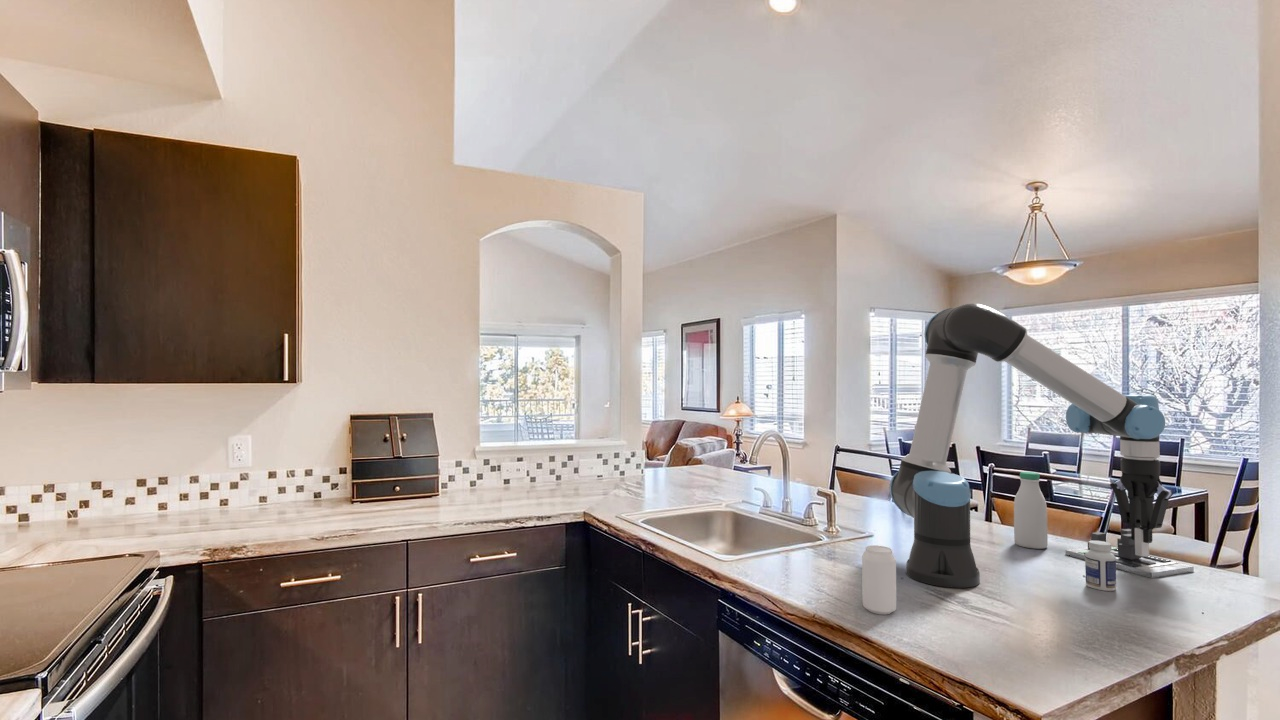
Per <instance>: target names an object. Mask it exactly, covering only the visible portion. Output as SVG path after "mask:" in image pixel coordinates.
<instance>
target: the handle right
mask: <svg viewBox="0 0 1280 720" xmlns="http://www.w3.org/2000/svg"><path fill="white" fill-rule="evenodd" d="M1125 534H1131V528H1121V529H1120V537H1119V538H1116V540H1117V544H1116V545H1118V544H1122V535H1125Z"/></svg>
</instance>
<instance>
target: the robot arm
mask: <svg viewBox="0 0 1280 720" xmlns="http://www.w3.org/2000/svg"><path fill="white" fill-rule="evenodd" d="M925 325H926V326H925V328H924V340H925V342H926V344H927V345H926V351H925V356H924V357H925V358H926V359H927V360H928V362H929V367H928V371H927V375H926V380H925V384H924V388H923V393H922V397H921V400H920V406H919V411H918V414H917V415H918V416H917V420H916V423H915V428H914V433H913V438H912V441H911V445H910V450H909V453H908V454H907V455H905V456H904V457H902V458H901V459H900V464H899V469H898V471H896V472H895V473H894V474H893V476H892V477H891V480H890V482H889V495H890V498H891V500H892V502H893V503H894V504H895V506H896V507H897V508H898V509H899V510H900V511H901V512H902V513H904V514H905V515H906V516H909V517H911V518H913V543H912V547H911V549H910V553H909V558H908V559H907V561H906V565H905V567H906V569H905V570H906V571H905V572H906V575H907V576H908V577H910V578H911V579H912V580H915V581H918V582H920V583H924V584H928V585H932V586H937V587H943V588H953V589H954V588H955V589H957V588H958V589H960V588H961V589H962V588H963V589H965V588H973V587H977V586H978V585H979V584H981V583H980V582H981V576H980V575H981V573H980V571H979V568H978V567H977V564H976V560H975V557H974V553H973V550H972V546H971V498H972V496H971V491H970V484H969V482H968V480H967V479H966V478H965V477H963V476H961V475H958V474H957V473H956V474H955V473H952V471H951V469H950V468H949V466H948V464H947V460H948V456H949V451H950V446H951V442H952V438H953V434H954V429H955V426H956V425H955V424H956V420H957V415H958V412H959V407H960V403H961V397H962V395H963V390H964V385H965V381H966V376H967V372H968V370H970V369H971V368H972V367H974V366H976V363H977V359H978V355H979V354H981V355H984V356H986V357H987V358H990V359H992V360H993V361H995V362H996V363H1002V362H1003V363H1004V362H1005V363H1006V364H1008V365H1010V366H1011V367H1013V368H1015V369H1016V370H1018V371H1020V372H1021V373H1023V374H1024V375H1025V376H1028V377H1029V378H1031V379H1032V380H1034V381H1035V382H1037V383H1038V384H1040V385H1042V386H1043V387H1045V388H1047V389H1048V390H1050V391H1051V392H1053V393H1055V394H1056V395H1058V396H1059V397H1061V398H1063V399H1064V400H1066V401H1067V402H1069V403H1070V405H1069V406H1068V407H1067V409H1066V411H1065V423H1066V425H1067V427H1068V428H1069V430H1071V431H1072V432H1073V433H1076V434H1078V433H1079V434H1086V435H1087V434H1098V435H1099V434H1100V435H1106V436H1115V437H1119V439H1120V440H1119V446H1120V447H1119V448H1120V449H1119V453H1120V455H1121V456H1122V457H1121V458H1120V472H1121V476H1120V478H1119V480H1118V481H1116V482H1111V483H1110V484H1109V485H1110V488H1111V489H1112V490H1113V493H1114V495H1115V499H1116V503H1117V506H1118V511H1119V514H1120V518H1121V521H1122V523H1124V524H1127V525H1129V526H1130V529H1131V538H1132V540H1135V555H1138V556H1149V555H1150V544H1151V543H1153V530H1154V529H1162V526H1163V523H1164V521H1165V520H1164V519H1165V515H1166V512H1167V509H1168V503H1169V500H1170V499H1171V498H1172V497H1173V495H1174V490H1171V489H1168V488H1166V487H1165V486H1163V483H1162V481H1161V480H1160V479H1161V478H1160V476H1161V461H1160V460H1159V458H1160V457H1161V454H1160V451H1161V450H1160V448H1161V447H1160V446H1161V445H1160V444H1161V443H1160V435H1161V434H1162V433H1163V432H1164V430H1165V428H1166V419H1165V415H1164V413H1163V412H1162V411H1161V410H1160V407H1159V406H1160V405H1159V400H1158V398H1157V397H1156V396H1155V395H1150V394H1149V395H1147V394H1122V393H1121V392H1119V391H1117V390H1115V389H1114V388H1113V387H1111V386H1109V385H1108V384H1107V383H1105V382H1103V381H1101V380H1100V379H1099V378H1097V377H1095V376H1094V375H1092V374H1091V373H1089V372H1087V371H1086V370H1084V369H1082V368H1081V367H1079V366H1078V365H1076V364H1075V363H1073V362H1071V361H1070V360H1068V359H1066V357H1063V356H1062V355H1060V354H1059V353H1057V352H1056V351H1054V350H1052V349H1051V348H1049V347H1047V345H1044V344H1043V343H1041V341H1038V340H1036V339H1035V338H1033V337H1031V336H1030V335H1028V330H1027V329H1028V328H1026V327H1024V326H1023V325H1022V324H1019V323H1018V322H1017V321H1015V320H1013V319H1012V318H1011V317H1008V316H1007V315H1005V314H1004V313H1002V312H1000V311H998V310H996V309H995V308H992V307H990V306H987V305H984V304H982V303H981V304H980V303H965V304H961V305H960V306H959V305H958V306H955V307H949V308H946V309H943V310H941V311H939V312H938V313H936V314H934V315H933V316H932V317H930V319H929V321H928V322H927V323H926V324H925ZM1155 494H1156V495H1157V497H1156V499H1155ZM1154 501H1155V502H1154Z"/></svg>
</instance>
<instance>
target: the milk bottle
mask: <svg viewBox="0 0 1280 720" xmlns="http://www.w3.org/2000/svg"><path fill="white" fill-rule="evenodd" d="M1040 477H1041V476H1040V473H1039V472H1033V471H1021V472H1020V473H1019V478H1020V479H1019V480H1020V486H1019V488H1018V491H1017V493H1016V494H1015V496H1014V500H1013V501H1014V503H1013V539H1014V544H1015V545H1017V546H1019V547H1023V548H1028V549H1033V550H1034V549H1036V550H1044V549H1046V548H1048V545H1049V544H1048V542H1049V540H1048V539H1049V538H1048V507H1047V502H1046V499H1045V497H1044V494H1043V492H1042V491H1041V487H1040V483H1039V482H1040Z"/></svg>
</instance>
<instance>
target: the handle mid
mask: <svg viewBox="0 0 1280 720" xmlns="http://www.w3.org/2000/svg"><path fill="white" fill-rule="evenodd" d="M1117 548H1118V556H1120V557H1124V558H1128V559H1138V558H1141V556H1138V555H1135V540H1132V538H1131V534H1125V535H1122V544H1117Z"/></svg>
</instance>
